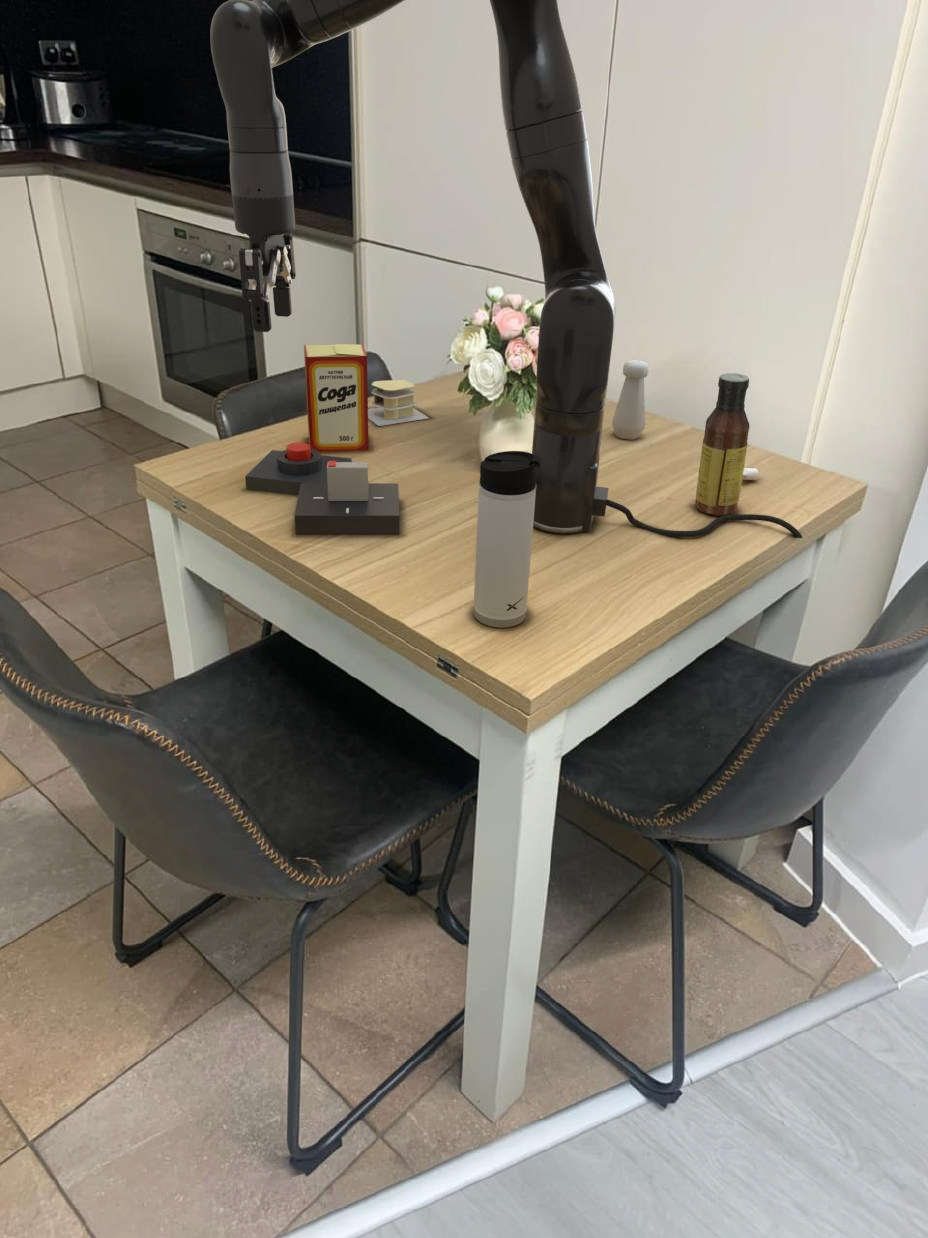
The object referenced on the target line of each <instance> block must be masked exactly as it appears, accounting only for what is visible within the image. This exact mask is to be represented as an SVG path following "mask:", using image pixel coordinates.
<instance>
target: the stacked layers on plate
mask: <svg viewBox="0 0 928 1238" xmlns="http://www.w3.org/2000/svg"><path fill="white" fill-rule="evenodd" d="M371 386H374V387H376V388H373V389H372V390H371V394H372V395H373V400H372V401H371V405H372V406H374V407H373V408H368V420H369V421H371V422H373V424H375V425H376V426H378V427H382V426H383V427H384V426H388V425H394V424H395V425H396V424H401V423H407V422H413V421H419V420H427V419H429V417H428V416H427V415H425V414H424V413H422V412H421V411H419V410H417V409H416V408H415V406H417V404H416V403H415V402H414V396H415V395H417V392H416V391H414V390H412V389H410V388H413V387H416V386H417V385H415V384H414V383H412V382H411V381H409V380H407V379H392V380H391V379H390V380H377V381H373V382H372V383H371Z"/></svg>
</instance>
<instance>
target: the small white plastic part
mask: <svg viewBox="0 0 928 1238" xmlns="http://www.w3.org/2000/svg"><path fill="white" fill-rule="evenodd" d="M759 477H760V472H759V470H758V469H757V468H754V467H745V466H744V471H743V477H742V481H743V480H744V481H756V480H757V479H759Z"/></svg>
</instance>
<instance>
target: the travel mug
mask: <svg viewBox="0 0 928 1238" xmlns="http://www.w3.org/2000/svg"><path fill="white" fill-rule="evenodd" d="M536 465H537V468H539V467H540V466H541V456H537V455H534V454H532V452H528V451H522V450H506V451H500V452H495V453H492V454H491V453H490V454H489V455H487V456H485V458H484V459H483V460H482V461H481V463H480V465H479V466H480V467H479V468H480V469H479V481H478V501H477V520H476V521H477V523H476V546H475V565H474V566H475V567H474V590H473V616H474V617H475V619H476V620H477V622H480V623H481V624H484V625H485V626H488V627H492V628H499V629H501V628H502V629H503V628H511V627H515V626H517V625H520V624H521V623H523V622H524V621H525V619H526V618H527V609H528V597H529V585H530V584H529V583H530V571H531V557H532V544H533V535H534V534H533V532H534V526H533V521H534V508H535V495H536V492H535V491H536V476H537V471H536Z"/></svg>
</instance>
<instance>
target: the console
mask: <svg viewBox="0 0 928 1238" xmlns="http://www.w3.org/2000/svg"><path fill="white" fill-rule="evenodd" d="M399 488H400V487H399V483H398V482H397V483H395V482H394V483H393V482H392V483H390V482H389V483H388V482H387V483H385V482H384V483H382V482H381V483H378V482H374V483H373V482H371V483H370V482H368V501H328V483H301V485H300V490H299V495H297V502H296V507H295V511H294V527H295V536H400V492H399V491H400V489H399Z"/></svg>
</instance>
